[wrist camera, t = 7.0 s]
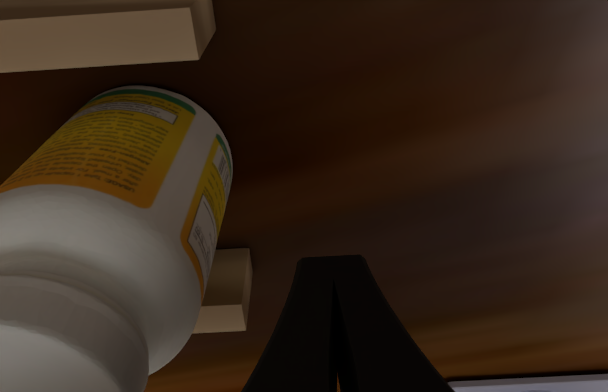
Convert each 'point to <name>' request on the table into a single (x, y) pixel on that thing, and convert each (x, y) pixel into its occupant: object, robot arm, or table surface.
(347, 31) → the table surface
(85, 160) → the supplement bottle
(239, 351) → the table surface
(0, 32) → the beech corral
